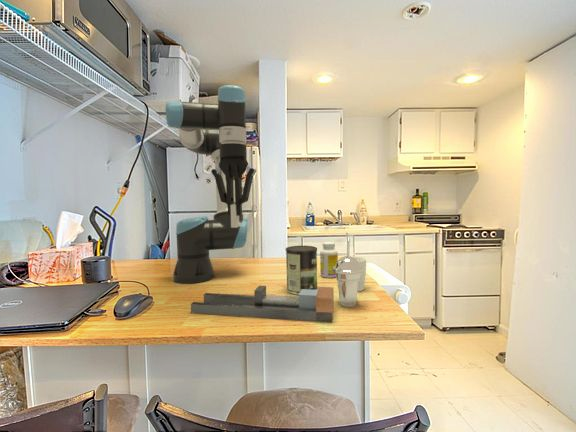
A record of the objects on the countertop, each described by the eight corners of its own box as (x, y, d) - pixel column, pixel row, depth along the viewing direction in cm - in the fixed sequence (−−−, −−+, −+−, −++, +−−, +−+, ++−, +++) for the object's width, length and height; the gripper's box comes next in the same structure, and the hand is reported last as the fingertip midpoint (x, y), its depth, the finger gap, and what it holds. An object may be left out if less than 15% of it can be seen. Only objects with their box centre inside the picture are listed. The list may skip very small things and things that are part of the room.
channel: (190, 313, 81) (190, 291, 80) (206, 301, 89) (205, 281, 89) (332, 322, 73) (332, 298, 73) (333, 308, 82) (333, 287, 82)
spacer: (299, 317, 77) (298, 294, 76) (301, 310, 81) (301, 289, 81) (316, 318, 76) (316, 295, 76) (318, 311, 81) (318, 289, 80)
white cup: (361, 293, 94) (361, 262, 93) (338, 289, 98) (338, 260, 97) (369, 287, 100) (369, 257, 100) (347, 283, 105) (346, 255, 104)
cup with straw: (327, 305, 85) (327, 235, 83) (341, 296, 92) (340, 232, 90) (356, 311, 80) (356, 238, 78) (367, 301, 87) (368, 233, 86)
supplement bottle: (340, 275, 116) (340, 242, 115) (333, 279, 110) (333, 245, 109) (324, 272, 119) (324, 241, 118) (317, 276, 114) (317, 243, 113)
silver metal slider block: (254, 312, 80) (254, 290, 79) (259, 306, 84) (259, 285, 83) (299, 315, 77) (298, 292, 77) (301, 308, 82) (301, 287, 81)
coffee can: (318, 285, 103) (318, 245, 101) (315, 296, 92) (315, 251, 91) (289, 284, 105) (289, 244, 103) (283, 294, 94) (282, 250, 93)
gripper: (205, 143, 82) (208, 228, 84) (250, 141, 79) (252, 229, 81) (217, 146, 89) (219, 225, 91) (258, 145, 86) (260, 225, 89)
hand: (235, 226), depth 86 cm, fingers closed
